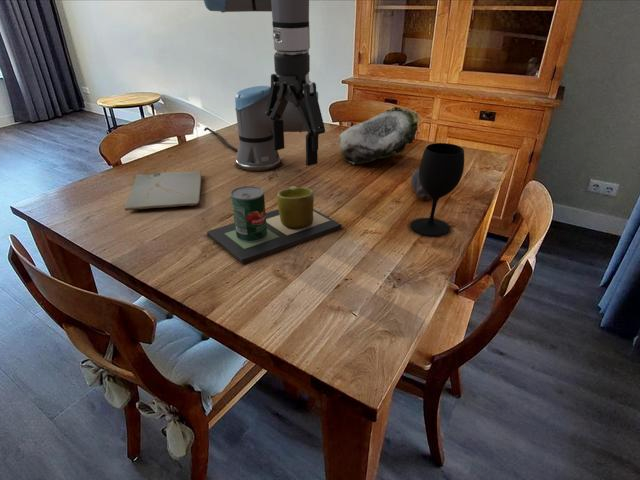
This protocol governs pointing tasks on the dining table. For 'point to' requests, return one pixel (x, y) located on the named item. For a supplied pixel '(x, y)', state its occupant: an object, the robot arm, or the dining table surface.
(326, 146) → the dining table surface
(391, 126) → the stone basin
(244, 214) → the canned tomato
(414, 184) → the perforated stone tool
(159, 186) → the decorative slab
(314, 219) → the black board
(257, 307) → the dining table surface
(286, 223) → the mug
